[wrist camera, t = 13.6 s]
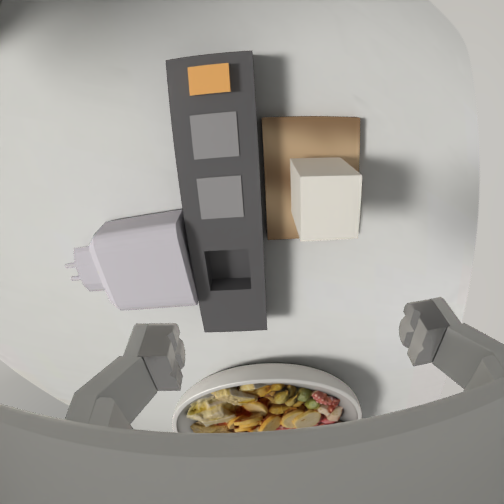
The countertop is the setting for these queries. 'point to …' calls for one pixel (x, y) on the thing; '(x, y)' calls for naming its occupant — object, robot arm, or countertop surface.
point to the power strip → (220, 185)
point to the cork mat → (300, 146)
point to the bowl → (265, 400)
